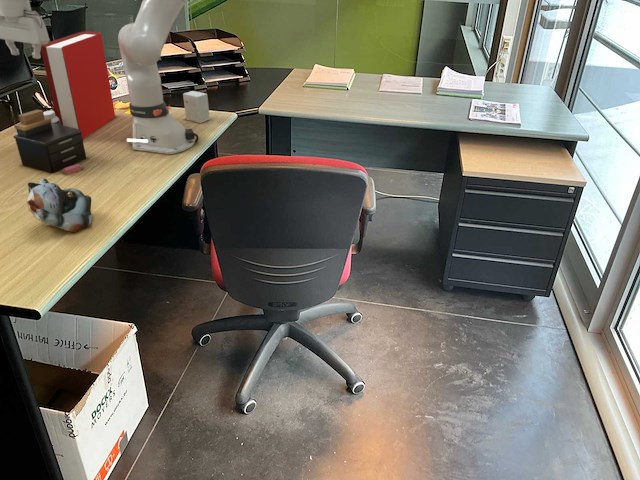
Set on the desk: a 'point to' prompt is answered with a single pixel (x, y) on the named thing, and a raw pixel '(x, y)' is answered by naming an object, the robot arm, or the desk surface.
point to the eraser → (72, 169)
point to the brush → (32, 123)
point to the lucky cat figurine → (59, 206)
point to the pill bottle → (52, 117)
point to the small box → (196, 106)
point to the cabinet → (51, 148)
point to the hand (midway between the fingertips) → (26, 56)
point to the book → (79, 81)
